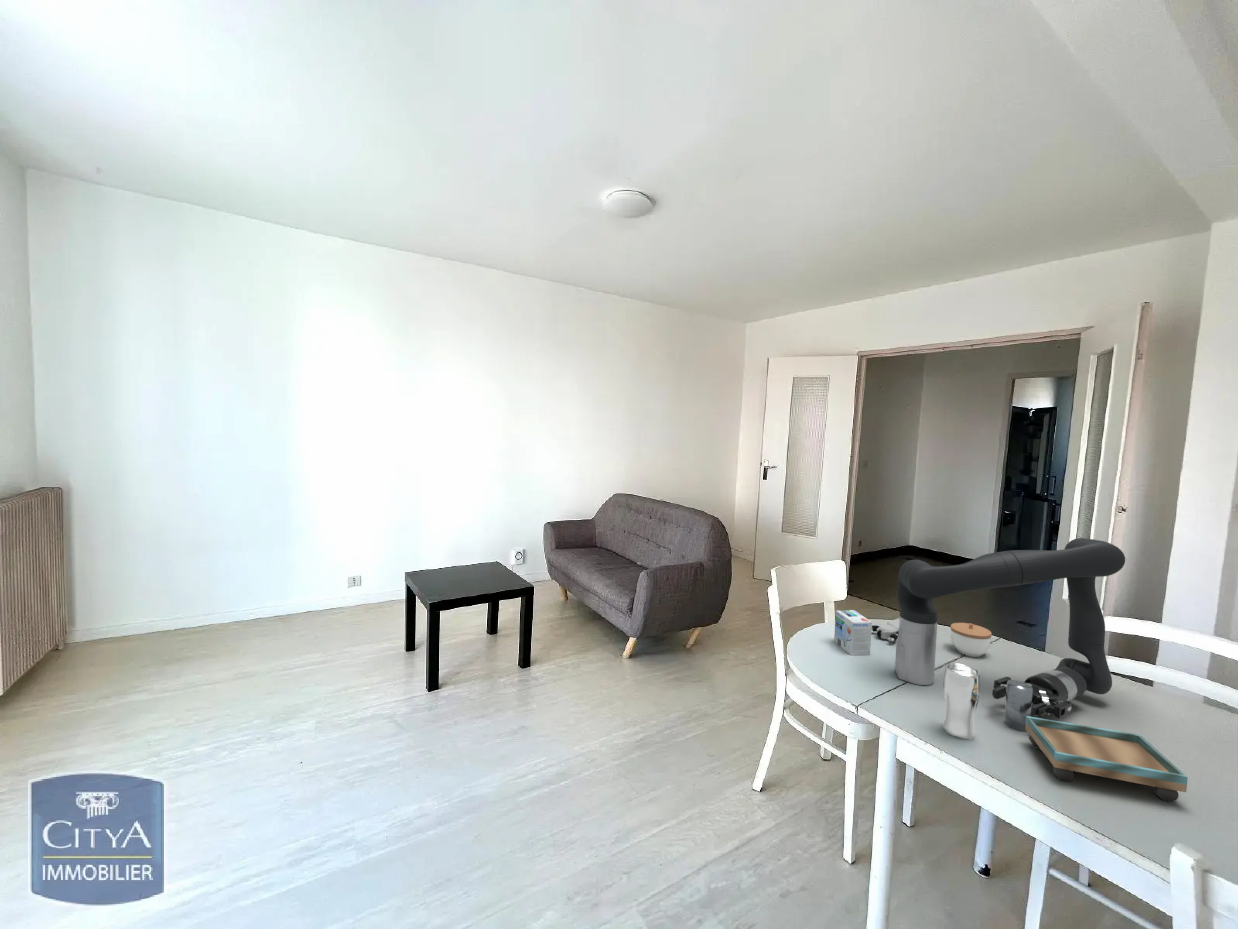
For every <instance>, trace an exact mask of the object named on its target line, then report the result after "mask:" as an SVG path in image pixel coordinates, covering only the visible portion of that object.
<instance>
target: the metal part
mask: <svg viewBox="0 0 1238 929" xmlns="http://www.w3.org/2000/svg"><path fill="white" fill-rule="evenodd" d="M1024 682H1025V681H1019V680H1015V679H1011V680H1008V681H1007V689H1006V696H1005V705H1004V706H1005V707H1004V720H1003V723H1004V724H1005V726H1007V727H1008V728H1010V729H1013V730H1015V731H1020V732H1027V730H1026V729H1025V724H1026V716H1030V717H1032V707H1033V706H1032V705H1033V703H1032V693H1033V687H1032V686H1030V685H1029V684H1027V683H1024Z"/></svg>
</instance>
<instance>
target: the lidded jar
mask: <svg viewBox="0 0 1238 929" xmlns="http://www.w3.org/2000/svg"><path fill="white" fill-rule="evenodd" d="M949 627H950V628H949V629H950V640H951V642H952V645H953V646H954V648H955V649H956V650H957V651H959V653H960V654H962V655H964V654H965V655H964V656H967V657H973V658H979V657H981V656H982V655H984V654H985V653H987V652H988V650H989V649H990V647H991V640H992V634H993V633H992V631H991V630H989V629H988V628H986V627H984V626H983V627H982V626H980V625H977V624H973V623H967V622H954V623H951V624H950V626H949Z"/></svg>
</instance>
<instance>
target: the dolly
mask: <svg viewBox="0 0 1238 929" xmlns="http://www.w3.org/2000/svg"><path fill="white" fill-rule="evenodd" d="M1025 729H1026V730H1027V731H1026V732H1027V733H1028V734H1029V736H1028V740H1029V742H1030V743H1031V744H1032V746H1034V747H1035V748H1036V749H1040V750H1041V751H1042V752H1043V754H1044V755H1045V756H1046V758H1047V759H1048V761H1049V763H1051V764H1052V773H1053V775H1055V776H1056V778H1057V779H1059V780H1060V781H1062V782H1070V781H1072V780H1073V778H1074V772H1077V773H1083V774H1087V775H1092V776H1097V777H1103V778H1106V779H1107V778H1108V779H1113V780H1118V781H1123V782H1124V781H1125V782H1128V783H1135V784H1139V785H1146V786H1148V787H1149V786H1150V787H1153V790H1154V793H1155V794H1156V795H1157V796H1158V797H1159V798H1160V799H1161V800H1162V801H1164V802H1168V801H1169V803H1172V802H1173V803H1174V802H1176V801H1177V800H1178V798H1179V792H1181V793H1187V788H1188V776H1187V775H1186V774H1184V772H1183V771H1181V769H1179V768H1178V767H1177V766H1176V765H1175V764H1174V763H1172V762H1171V761H1170V760H1169V759H1168V758H1166V756H1164V754H1162V753H1161V752H1160V751H1159V750H1157V748H1155V747H1154V746H1153V745H1152V744H1151V743H1150V742H1149V741H1147V739H1146V738H1144V737H1143V736H1142V735H1141V734H1137V733H1131V732H1126V731H1119V730H1114V729H1108V728H1103V727H1095V726H1090V725H1089V726H1088V725H1082V724H1077V723H1071V722H1066V721H1058V720H1053V719H1046V718H1040V717H1035V716H1031V717H1030V716H1026V724H1025Z"/></svg>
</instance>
